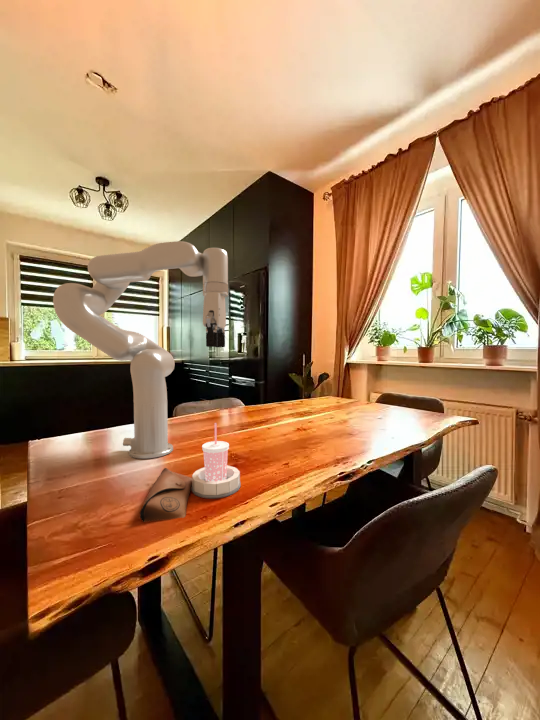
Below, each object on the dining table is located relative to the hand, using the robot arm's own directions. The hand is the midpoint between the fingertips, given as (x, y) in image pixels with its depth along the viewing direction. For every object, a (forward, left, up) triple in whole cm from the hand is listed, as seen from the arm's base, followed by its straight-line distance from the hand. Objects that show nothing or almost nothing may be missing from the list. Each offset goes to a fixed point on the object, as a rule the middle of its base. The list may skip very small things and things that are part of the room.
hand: (216, 347), depth 92 cm
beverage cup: (+6, -24, -32) cm, 40 cm away
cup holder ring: (+6, -24, -32) cm, 41 cm away
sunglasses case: (-2, -29, -33) cm, 44 cm away
